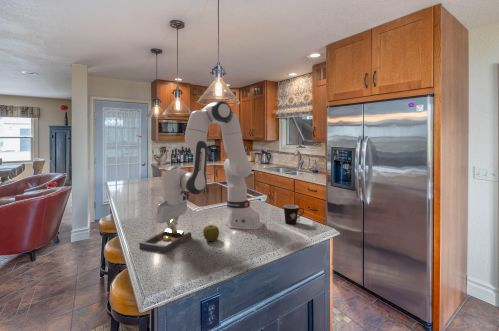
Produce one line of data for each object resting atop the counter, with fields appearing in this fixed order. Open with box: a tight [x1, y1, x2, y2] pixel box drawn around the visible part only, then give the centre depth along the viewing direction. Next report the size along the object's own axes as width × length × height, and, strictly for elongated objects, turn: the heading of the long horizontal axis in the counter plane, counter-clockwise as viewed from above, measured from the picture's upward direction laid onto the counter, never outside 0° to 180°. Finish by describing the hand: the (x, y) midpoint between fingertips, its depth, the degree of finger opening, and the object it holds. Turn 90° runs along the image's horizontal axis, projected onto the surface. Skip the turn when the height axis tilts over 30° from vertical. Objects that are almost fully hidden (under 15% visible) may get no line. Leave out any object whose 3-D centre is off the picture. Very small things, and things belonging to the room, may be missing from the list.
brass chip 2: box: [170, 236, 180, 243], centre depth 129 cm, size 4×4×2 cm
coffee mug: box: [283, 204, 305, 226], centre depth 154 cm, size 12×9×10 cm
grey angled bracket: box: [139, 234, 181, 254], centre depth 123 cm, size 15×10×2 cm, turn 70°
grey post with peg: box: [165, 219, 185, 237], centre depth 132 cm, size 10×2×9 cm, turn 70°
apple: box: [202, 224, 220, 242], centre depth 129 cm, size 8×8×7 cm
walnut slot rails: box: [155, 228, 192, 245], centre depth 132 cm, size 15×9×2 cm, turn 70°
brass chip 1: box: [162, 235, 172, 242], centre depth 131 cm, size 4×4×2 cm
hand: (172, 226), depth 131 cm, fingers closed on grey post with peg, 3 cm apart
